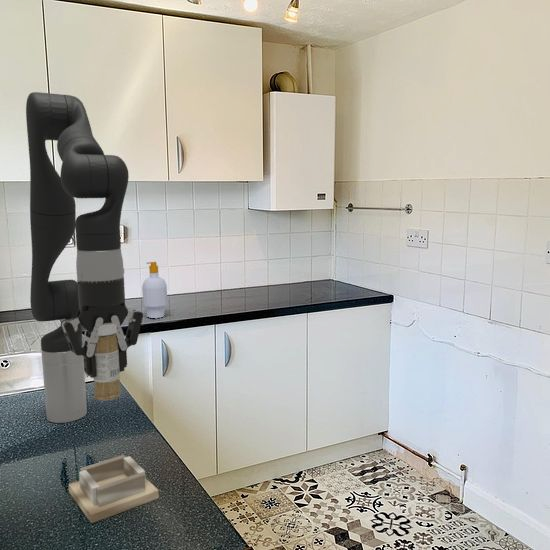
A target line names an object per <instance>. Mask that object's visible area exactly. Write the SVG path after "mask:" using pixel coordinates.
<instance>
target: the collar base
mask: <svg viewBox="0 0 550 550" xmlns="http://www.w3.org/2000/svg"><path fill="white" fill-rule="evenodd" d="M79 469H80V471H79V472H78V477H79V480H77V481H74V482H71V483H68V485H67V486H68V493H69V494H70V495H71V497H72V498H73V500H74V501H75V502H76V504H77V505H78V507H79V508H80V510H81V511H82V512H83V514H84V515H85V517H86V518H87V519H88V521H89V522H90V524H93V523H96V522H99V521H101V520H104V519H105V520H106V519H107V518H110V517H112V516H115V515H118V514H120V513H123V512H126V511H129V510H131V509H133V508H137V507H139V506H142V505H144V504H147V503H150V502H152V501H155V500H157V499H159V498H160V494H159V493H160V491H159V489H158V488H157V487H156V486H155V485H154V484H153V483H152V482H151V481H150V480H149V479H147V477H146V470H144V468H142V467H141V466H140V465H139V464H138V463H137V462H136V461H135V459H133V458H132V457H131V456H129V455H128V456H126V455H125V454H122V455H119V456H116V457H113V458H110V459H105V460H102V461H99V462H97V463H94V464H90V465H87V466H86V465H85V466H84V467H80V468H79Z"/></svg>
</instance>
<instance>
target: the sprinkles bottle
mask: <svg viewBox="0 0 550 550" xmlns="http://www.w3.org/2000/svg"><path fill="white" fill-rule="evenodd" d="M96 332H97V331H96ZM116 333H117V329H116V325H115V324H112V323H111V322H109V323H103V324H102V326H100V327H99V328H98V335H99V339H98V342H97V344H96V346H95V350H94V354H93V356H95V363H96V377H94V378H92V379H93V386H94V387H93V388H94V394H93V395H94V396H93V397H94V399H96V400H98V401H110V400H111V401H112V400H115V399H116V400H117V399H118V398H119V397H120V396H122V392H121V382H120V378H121V372H120V368H119V350H118V342H117V337H116Z"/></svg>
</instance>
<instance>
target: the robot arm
mask: <svg viewBox="0 0 550 550" xmlns="http://www.w3.org/2000/svg"><path fill="white" fill-rule="evenodd" d="M25 119H26V131H27V132H26V133H27V134H26V135H27V145H28V157H29V171H30V173H29V174H30V178H29V181H30V184H29V185H30V188H29V194H30V196H29V216H30V217H29V218H30V222H29V223H30V240H31V274H30V275H31V277H30V278H31V280H30V298H29V299H30V300H29V301H30V310H31V315H32V317H33V318H34V320H35V321H37V322H39V323H40V322H43V323H44V322H51V321H52V322H54V321H60V326H59V327H57V328H56V329H54V330H52V331H50V332H48V333H46V334H44V335H42V337H41V339H40V348H41V350H40V351H41V361H42V375H43V376H42V378H43V386H44V387H43V388H44V390H43V391H44V401H45V413H46V420H47V421H48V422H51V423H55V424H65V423H70V422H76V421H77V420H80V419H82V418H83V417H85V416H86V415H87V413H88V409H87V408H88V405H87V393H86V391H87V390H86V378H85V376H86V375H87V376H88V377H89V378H91V379H93V378H94V377H96V363H95V356H93V354H94V350H95V346H96V344H97V342H98V339H99V335H98V328H99V327H100V326H102V324H103V323H109V322H111V323H112V324H115V325H116V329H117V333H116V337H117V342H118V350H119V368H120V373H121V372H124V371H125V368H127V366H128V355H127V354H128V353H127V350H128V349H129V347H131V346H136V344H137V342H138V338H139V335H140V331H141V326H142V321H143V318H144V313H143V312H142V311H140V310H137V309H132V310H131V309H128V307H127V305H126V293H125V277H124V276H125V268H124V258H123V254H122V246H121V245H122V243H121V217H122V210H123V204H124V200H125V197H126V193H127V188H128V184H129V177H130V176H129V169H128V167H127V164H126V162H125V161H124V160H123V158H121V157H120V156H119V155H112V154H105V152H104V150H103V149H102V147H101V145H100V144H99V143H98V141H97V140H96V138H95V137H94V135H93V130H92V126H91V123H90V119H89V117H88V114H87V110H86V108H85V105H84V103H83V102H82V101H81V100H80V99H79V98H78V97H76V96H73V95H70V94H60V93H51V92H50V93H49V92H41V91H40V92H38V91H36V92H35V91H33V92H30V93H29V94H28V96H27V98H26V104H25ZM46 141H57V143H56V148H57V149H56V150H57V153H58V156H59V158H60V160H61V162H62V163H61V168H60V174H59V173H58V171H57V170H56V168H55V166H54V165H53V162H52V161H51V158H50V157H49V154H48V151H47V146H46ZM75 198H76V199H105V200H104V203H103V205H102V207H101V208H99V209H98V210H96V211H90V212H87V213H83V214H79V215H78V216H77V215H76V213H77V212H76V211H77V210H76V208H77V207H76V199H75ZM74 235H75V239H76V240H75V241H76V243H75V244H76V261H75V264H76V265H75V266H76V267H75V268H76V280H75V279H62V280H51V281H50V280H49V279H50V276H51V275H50V274H51V271H52V269H53V268H54V264H55V263H56V261H57V259H58V258H59V256H60V255H61V254H62V253H63V251H65V248H67V246H68V245H69V242H71V239H72V238H73V236H74ZM126 318H127V319H126ZM61 320H62V321H61ZM125 320H127V322H128V325H127V329H126V334H124V331H123V328H122V325H123V323H124V321H125ZM83 328H84V329H85V331H84V335H83ZM96 331H97V332H96Z"/></svg>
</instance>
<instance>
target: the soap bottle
mask: <svg viewBox="0 0 550 550" xmlns="http://www.w3.org/2000/svg"><path fill="white" fill-rule="evenodd" d="M146 264H147V265H148V269H149V277H147V278H145V279H144V280H143V282H142V286H141V288H142V289H141V292H142V293H141V294H142V305H143V306H144V307H146V308H145V309H146V318H147V317H151V318H158V317H163V316H164V315H165V311H166V310H165V306H167V305H168V287H167V283H166V281H165V279H164V278H163V277H160V276H159V265H158V264H157V261H149V262H146ZM149 264H150V265H149ZM164 317H165V316H164ZM164 317H163V318H164Z"/></svg>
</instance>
